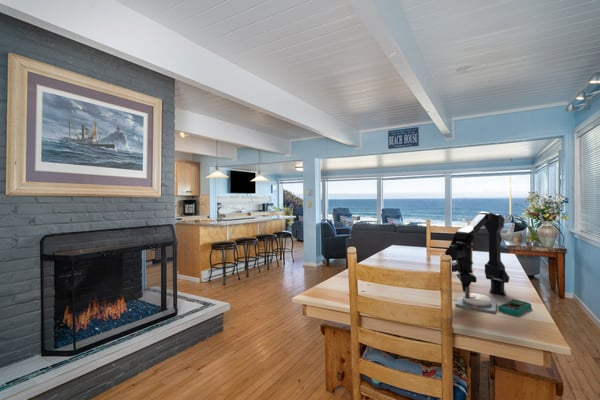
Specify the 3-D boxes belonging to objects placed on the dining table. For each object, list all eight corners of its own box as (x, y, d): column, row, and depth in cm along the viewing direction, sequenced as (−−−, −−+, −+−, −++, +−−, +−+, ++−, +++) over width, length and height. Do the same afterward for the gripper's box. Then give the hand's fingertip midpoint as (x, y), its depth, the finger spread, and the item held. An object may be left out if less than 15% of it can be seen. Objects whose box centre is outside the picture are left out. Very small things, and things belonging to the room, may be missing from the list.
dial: (457, 298, 137) (457, 283, 137) (478, 296, 139) (478, 281, 139) (474, 306, 126) (474, 290, 126) (497, 305, 128) (496, 289, 128)
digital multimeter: (497, 312, 125) (497, 305, 125) (512, 304, 133) (512, 298, 133) (517, 318, 119) (517, 310, 119) (532, 309, 127) (532, 302, 127)
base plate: (460, 296, 143) (460, 294, 143) (497, 302, 134) (497, 300, 134) (455, 306, 130) (455, 303, 130) (495, 314, 122) (495, 311, 122)
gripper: (442, 252, 146) (442, 283, 146) (447, 261, 128) (447, 296, 129) (468, 254, 142) (468, 286, 142) (476, 263, 124) (476, 299, 125)
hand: (464, 291), depth 135 cm, fingers closed
